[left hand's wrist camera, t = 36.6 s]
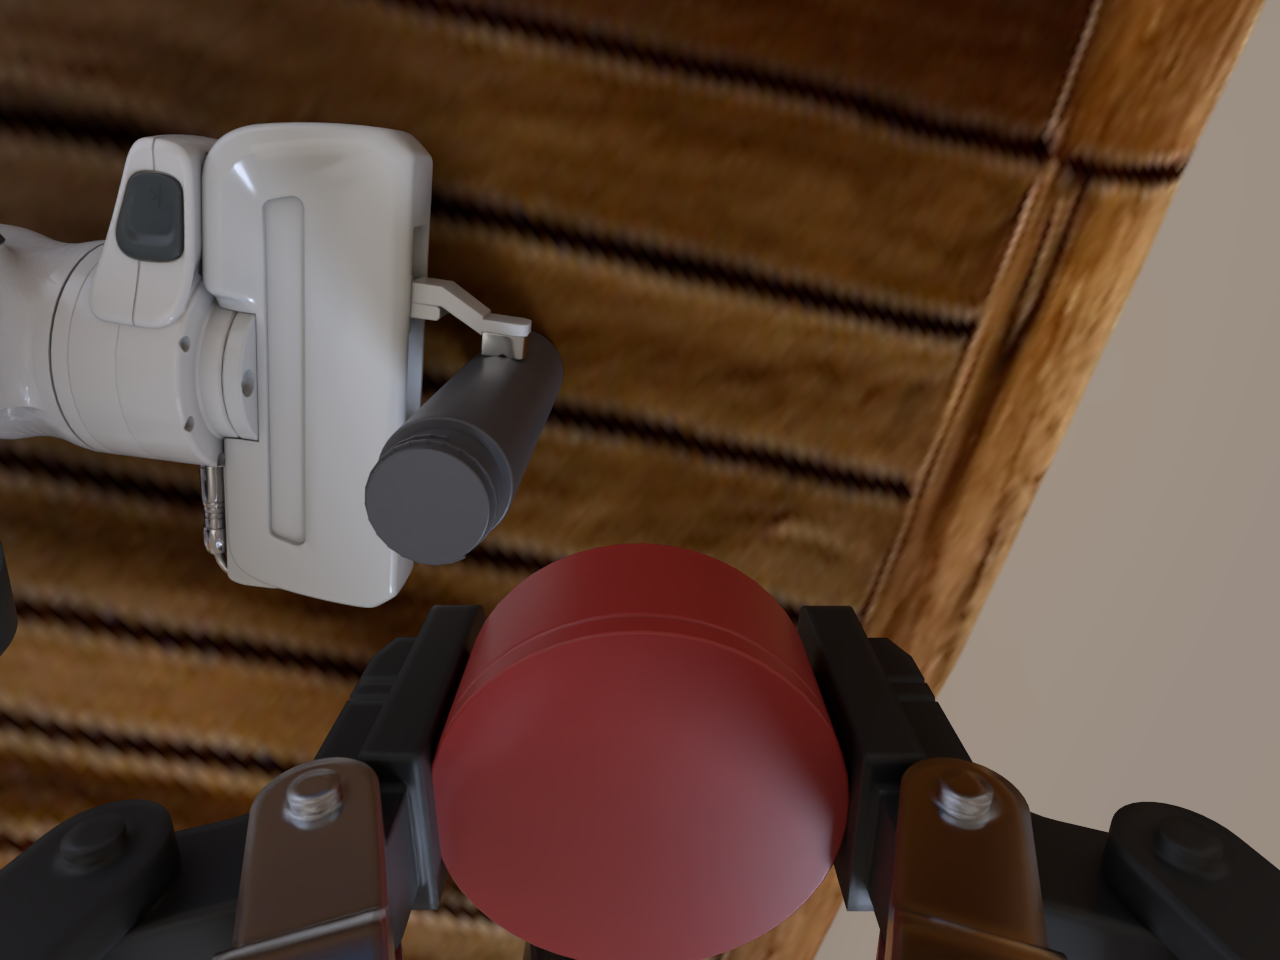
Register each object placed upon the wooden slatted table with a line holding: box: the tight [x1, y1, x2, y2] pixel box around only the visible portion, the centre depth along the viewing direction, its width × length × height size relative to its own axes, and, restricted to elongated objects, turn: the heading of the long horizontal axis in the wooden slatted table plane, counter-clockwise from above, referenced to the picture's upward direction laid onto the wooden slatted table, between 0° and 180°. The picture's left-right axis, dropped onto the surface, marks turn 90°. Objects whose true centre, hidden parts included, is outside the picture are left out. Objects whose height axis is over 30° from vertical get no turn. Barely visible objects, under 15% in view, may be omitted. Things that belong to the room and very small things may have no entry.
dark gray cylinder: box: [364, 331, 563, 565], centre depth 31 cm, size 4×4×18 cm
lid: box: [431, 543, 850, 960], centre depth 10 cm, size 5×5×2 cm
